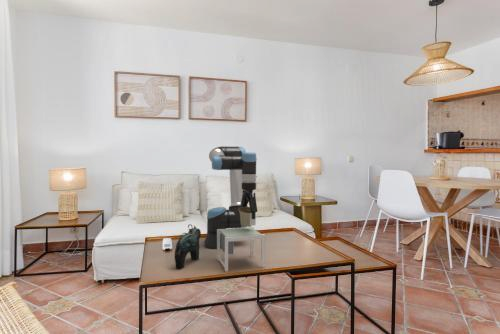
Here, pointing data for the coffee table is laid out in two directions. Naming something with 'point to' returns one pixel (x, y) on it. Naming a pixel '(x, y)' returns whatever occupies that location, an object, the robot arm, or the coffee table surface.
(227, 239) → the frame
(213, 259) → the coffee table surface
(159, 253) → the coffee table surface
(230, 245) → the grey l-shaped slab
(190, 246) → the dark green animal figurine
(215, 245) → the robot arm
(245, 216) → the flower pot
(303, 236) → the coffee table surface
